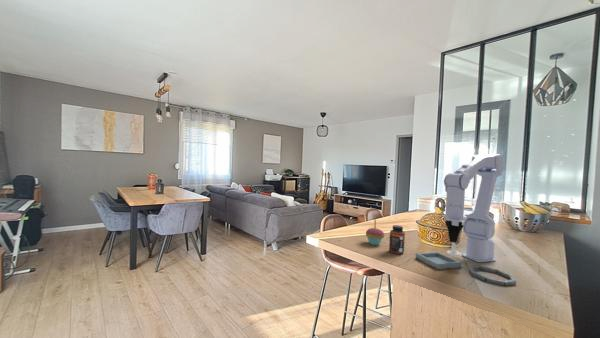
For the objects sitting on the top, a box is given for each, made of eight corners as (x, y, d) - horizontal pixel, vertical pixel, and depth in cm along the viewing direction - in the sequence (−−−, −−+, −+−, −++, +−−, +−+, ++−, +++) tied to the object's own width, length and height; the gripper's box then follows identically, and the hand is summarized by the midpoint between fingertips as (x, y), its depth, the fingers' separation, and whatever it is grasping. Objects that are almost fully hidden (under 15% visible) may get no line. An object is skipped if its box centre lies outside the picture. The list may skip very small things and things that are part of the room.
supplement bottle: (405, 255, 103) (406, 228, 103) (390, 253, 104) (391, 227, 104) (402, 250, 109) (403, 225, 108) (388, 249, 110) (389, 223, 110)
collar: (487, 268, 93) (487, 265, 93) (523, 283, 81) (523, 280, 81) (462, 270, 89) (462, 267, 89) (496, 287, 78) (496, 283, 78)
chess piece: (460, 258, 89) (459, 230, 89) (444, 255, 93) (444, 228, 93) (463, 254, 93) (462, 227, 93) (448, 251, 96) (447, 226, 96)
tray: (437, 256, 103) (437, 251, 103) (461, 267, 92) (461, 262, 92) (415, 258, 100) (416, 253, 100) (437, 269, 90) (437, 264, 89)
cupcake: (364, 240, 122) (365, 215, 122) (382, 241, 121) (383, 217, 121) (366, 245, 113) (367, 219, 113) (385, 247, 112) (387, 221, 112)
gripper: (469, 209, 84) (467, 248, 85) (465, 204, 97) (463, 238, 97) (445, 206, 88) (443, 244, 88) (445, 202, 101) (443, 235, 101)
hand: (452, 241), depth 93 cm, fingers closed on chess piece, 2 cm apart
